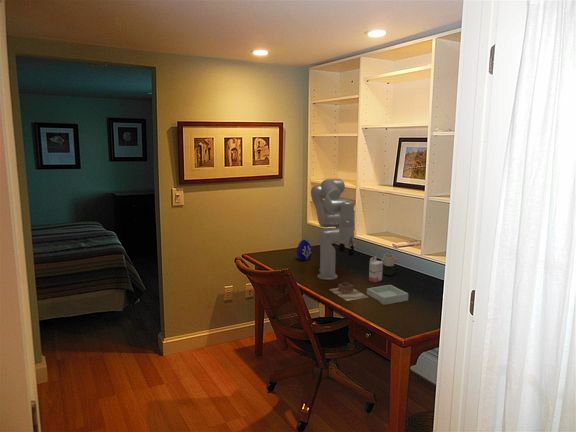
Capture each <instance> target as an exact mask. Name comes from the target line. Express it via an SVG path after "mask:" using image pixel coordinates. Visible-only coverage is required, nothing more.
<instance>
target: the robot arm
mask: <svg viewBox="0 0 576 432" xmlns="http://www.w3.org/2000/svg"><path fill="white" fill-rule="evenodd" d="M345 185H346V184H345V182H344V181H343V180H342V179H341V178H327V179H324V180H323V181H322V182H321V183H320V184H317V185H313V186H312V187H311V189H310V197H311V200H312V203H313V205H314V207H315V210H316V216H317V221H318V223H319V224H318V225H319V226H320V227H321V228H322V229H321V230H319V232H318V238H319V240H318V241H319V246H320V247H319V251H320V254H319V262H320V263H319V269H318V271H319V273H318V274H317V278H318V279H320V280H323V281H324V280H325V281H331V280H332V281H333V280H336V279H337V278H338V274H337V273H336V248H335V247H334V245H333V244H338V245H339V247H338V248H339V249H338V252H339V253H343V252H344V253H345V251H346V249H345V248H346V247H345V246H347V247H348V257H352V256H353V257H354V255H355V249H356V245H357V242H356V240H355V228H354V226H355V202H353V201H352V200H350V199H347V198H345V199H343V198H341V194H343V193H344V191H345V188H346V186H345ZM340 198H341V199H340Z"/></svg>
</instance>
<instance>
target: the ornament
mask: <svg viewBox="0 0 576 432" xmlns="http://www.w3.org/2000/svg"><path fill="white" fill-rule="evenodd" d="M296 255H297V258H298V259H299V260H300V261H309V259H310V258H311V257H312V255H313V249H312V245H311V244H310V242H309V241H308V240H306V239H302V240H301V241H300V242H299V243H298V245H297V249H296Z"/></svg>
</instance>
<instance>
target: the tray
mask: <svg viewBox="0 0 576 432" xmlns="http://www.w3.org/2000/svg"><path fill="white" fill-rule="evenodd" d="M366 294H367V296H369V297H372V298H373V299H375V300H377V301H376V302H377V303H379V304H381V305H383V306H385V305H392V304H395V303H396V304H397V303H402V302H408V301H409V293H408V292H407V291H404V290H402V289H400V288H398V287H396V286H394V285H392V284H385V285H380V286H375V287H369V288H366Z"/></svg>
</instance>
